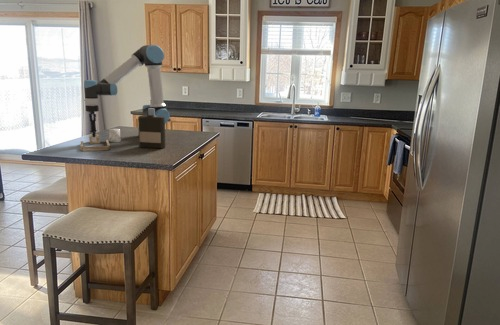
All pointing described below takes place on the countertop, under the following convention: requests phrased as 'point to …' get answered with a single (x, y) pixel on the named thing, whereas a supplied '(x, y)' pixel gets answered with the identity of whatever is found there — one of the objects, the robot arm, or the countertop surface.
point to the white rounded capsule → (114, 135)
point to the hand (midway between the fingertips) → (94, 141)
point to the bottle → (151, 130)
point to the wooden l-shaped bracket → (95, 147)
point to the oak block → (96, 139)
